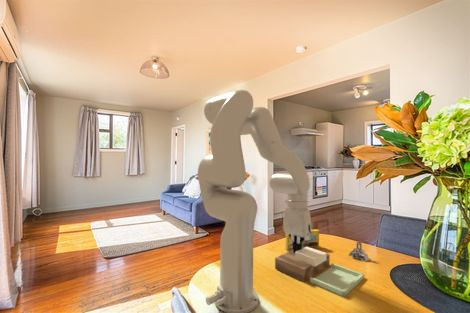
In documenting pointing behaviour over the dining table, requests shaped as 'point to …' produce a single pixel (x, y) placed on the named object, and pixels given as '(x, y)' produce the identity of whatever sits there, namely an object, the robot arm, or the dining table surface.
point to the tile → (311, 256)
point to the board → (298, 266)
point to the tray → (338, 280)
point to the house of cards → (359, 253)
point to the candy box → (305, 241)
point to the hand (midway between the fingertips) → (297, 252)
